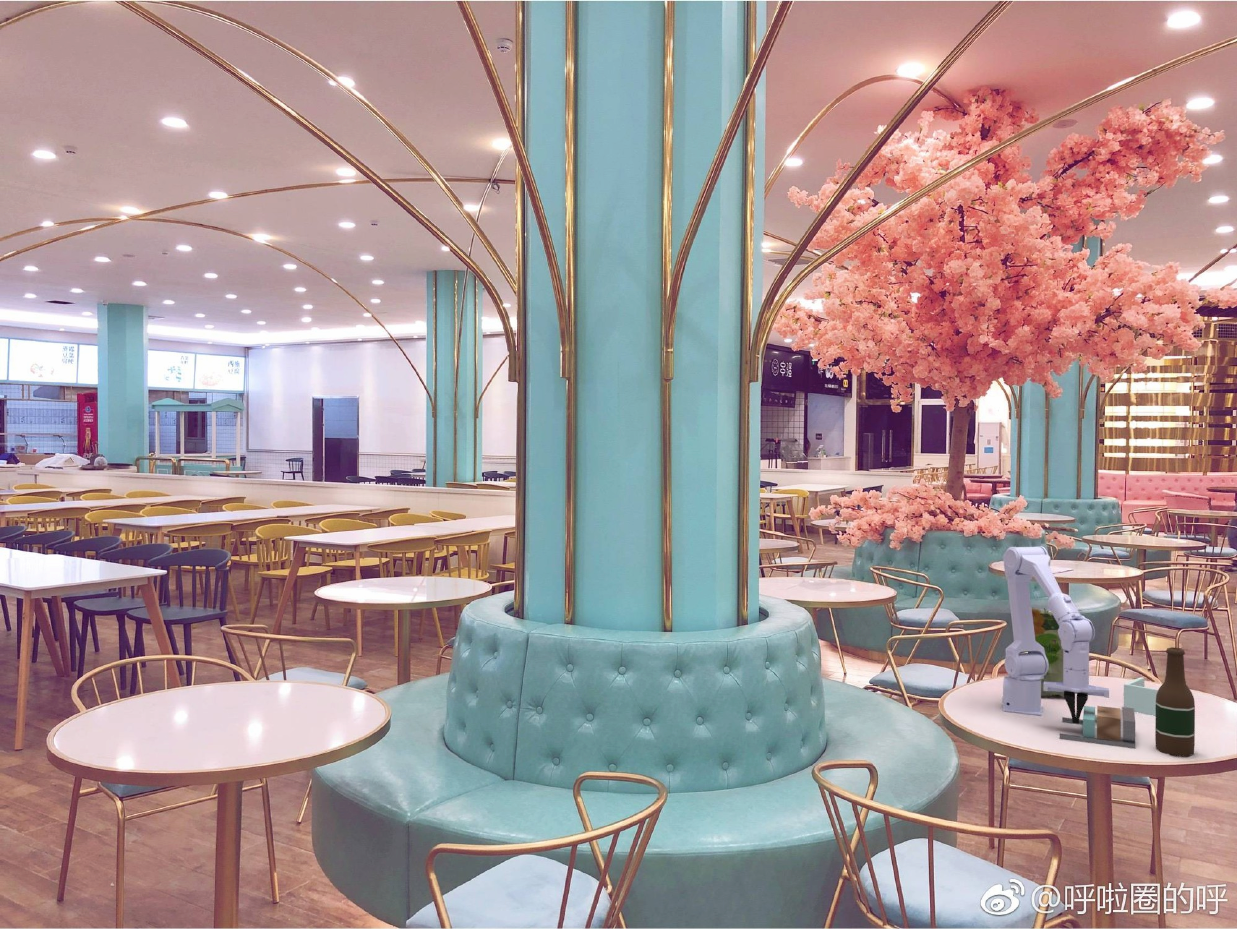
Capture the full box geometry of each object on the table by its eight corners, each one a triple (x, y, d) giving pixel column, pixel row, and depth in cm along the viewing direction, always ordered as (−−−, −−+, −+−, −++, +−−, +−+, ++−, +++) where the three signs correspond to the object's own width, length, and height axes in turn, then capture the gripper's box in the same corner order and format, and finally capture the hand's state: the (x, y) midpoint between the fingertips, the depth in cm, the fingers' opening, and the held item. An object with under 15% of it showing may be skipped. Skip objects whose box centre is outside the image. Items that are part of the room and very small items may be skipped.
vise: (1059, 739, 223) (1059, 714, 223) (1062, 721, 238) (1062, 698, 238) (1135, 749, 216) (1135, 723, 216) (1133, 730, 230) (1133, 706, 230)
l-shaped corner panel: (1173, 721, 240) (1173, 693, 240) (1123, 712, 249) (1123, 684, 249) (1188, 713, 248) (1189, 685, 248) (1140, 704, 257) (1140, 677, 257)
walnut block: (1096, 740, 222) (1097, 715, 222) (1097, 729, 231) (1097, 705, 231) (1120, 743, 220) (1120, 718, 220) (1119, 732, 229) (1120, 708, 229)
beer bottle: (1194, 759, 209) (1195, 653, 208) (1154, 753, 213) (1155, 649, 212) (1194, 750, 215) (1195, 647, 215) (1155, 744, 219) (1156, 643, 219)
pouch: (1070, 702, 256) (1070, 612, 256) (1023, 697, 261) (1023, 609, 261) (1069, 693, 266) (1070, 606, 266) (1024, 688, 271) (1024, 603, 271)
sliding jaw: (1082, 739, 222) (1083, 718, 222) (1083, 725, 234) (1084, 705, 234) (1096, 741, 221) (1097, 720, 221) (1097, 727, 232) (1097, 707, 232)
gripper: (1042, 668, 228) (1042, 722, 229) (1109, 674, 222) (1108, 731, 222) (1044, 662, 235) (1044, 715, 235) (1109, 668, 228) (1108, 723, 228)
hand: (1075, 722), depth 229 cm, fingers closed
